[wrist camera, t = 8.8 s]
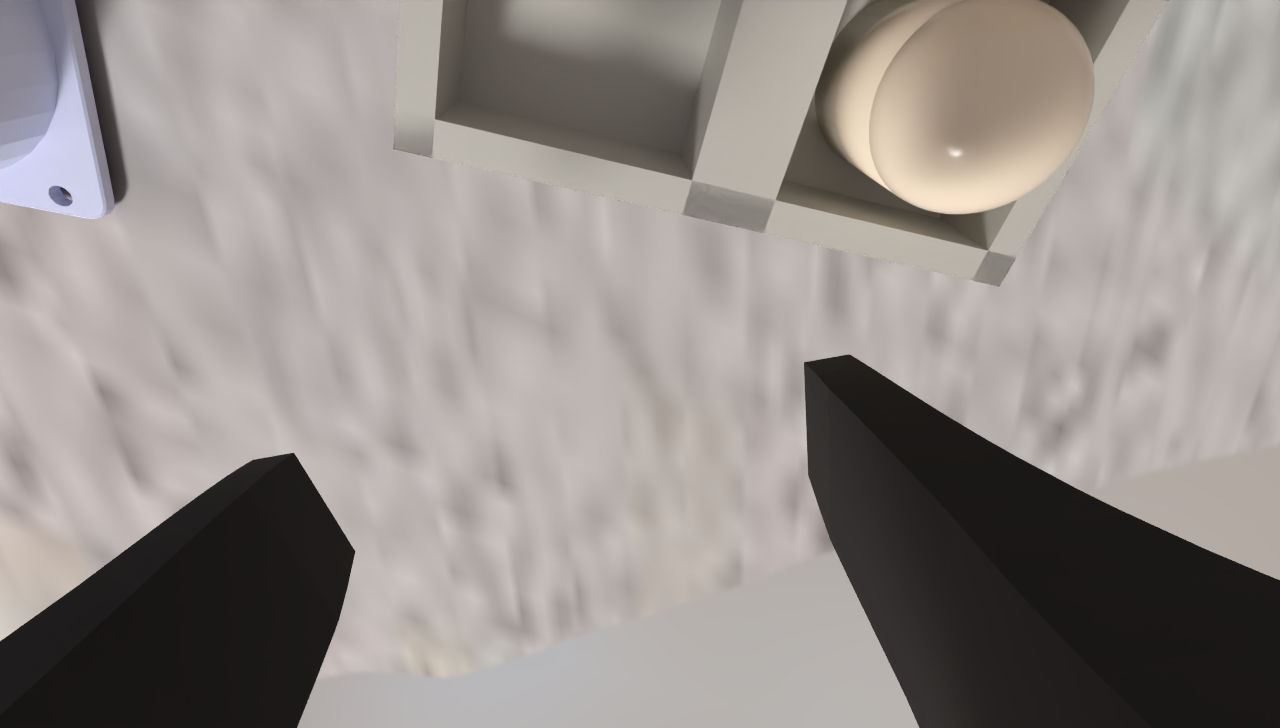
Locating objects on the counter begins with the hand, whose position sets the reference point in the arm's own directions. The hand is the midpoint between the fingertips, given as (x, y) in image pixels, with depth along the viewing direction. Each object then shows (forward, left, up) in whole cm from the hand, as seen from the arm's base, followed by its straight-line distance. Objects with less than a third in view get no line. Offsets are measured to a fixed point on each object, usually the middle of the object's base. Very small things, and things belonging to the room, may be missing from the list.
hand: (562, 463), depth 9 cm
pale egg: (+7, +6, -9) cm, 13 cm away
